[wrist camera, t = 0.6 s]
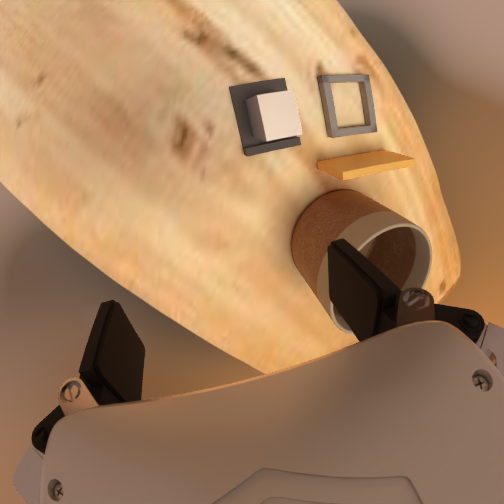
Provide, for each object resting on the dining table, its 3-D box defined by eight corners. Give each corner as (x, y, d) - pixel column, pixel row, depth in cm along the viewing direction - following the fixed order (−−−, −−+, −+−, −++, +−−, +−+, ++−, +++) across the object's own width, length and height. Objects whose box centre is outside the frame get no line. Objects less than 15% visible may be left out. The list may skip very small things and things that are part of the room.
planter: (364, 171, 37) (429, 200, 25) (383, 251, 45) (432, 293, 33) (273, 219, 38) (312, 270, 26) (308, 295, 46) (344, 352, 34)
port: (301, 78, 29) (326, 70, 23) (374, 75, 30) (406, 73, 24) (317, 168, 35) (343, 180, 29) (384, 155, 36) (415, 165, 30)
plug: (245, 99, 29) (256, 95, 24) (276, 94, 29) (294, 89, 24) (253, 137, 31) (266, 141, 26) (284, 131, 32) (302, 134, 26)
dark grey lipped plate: (229, 87, 28) (230, 85, 27) (283, 78, 29) (287, 77, 27) (244, 155, 33) (247, 156, 31) (296, 143, 33) (300, 144, 32)
